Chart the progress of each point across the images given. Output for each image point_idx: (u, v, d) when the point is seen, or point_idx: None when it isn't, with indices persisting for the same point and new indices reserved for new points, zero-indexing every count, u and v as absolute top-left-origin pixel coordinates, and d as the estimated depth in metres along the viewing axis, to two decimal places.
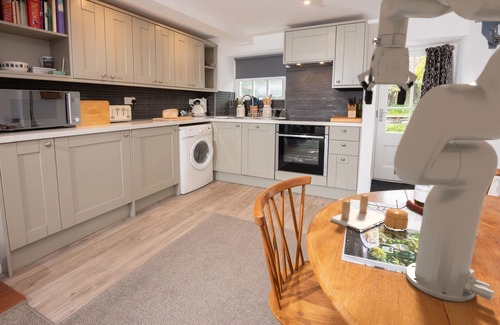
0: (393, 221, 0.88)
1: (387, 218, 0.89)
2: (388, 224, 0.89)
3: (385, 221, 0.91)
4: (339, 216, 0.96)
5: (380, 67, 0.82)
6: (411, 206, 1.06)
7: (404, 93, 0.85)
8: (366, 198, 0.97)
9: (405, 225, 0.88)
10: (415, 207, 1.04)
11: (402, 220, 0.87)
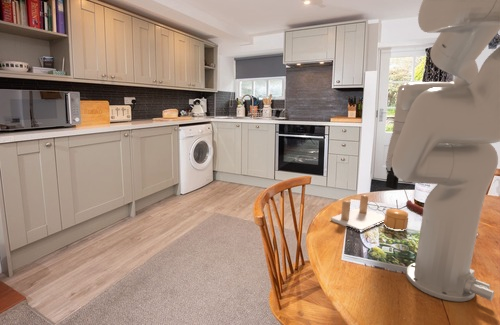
0: (393, 221, 0.88)
1: (387, 218, 0.89)
2: (388, 224, 0.89)
3: (385, 221, 0.91)
4: (339, 216, 0.96)
5: None
6: (411, 206, 1.05)
7: None
8: (366, 198, 0.97)
9: (405, 225, 0.88)
10: (415, 207, 1.04)
11: (402, 220, 0.87)
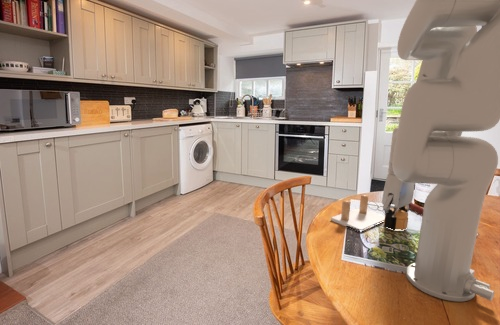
0: None
1: None
2: None
3: None
4: (339, 216, 0.96)
5: None
6: (411, 207, 1.05)
7: None
8: (366, 198, 0.97)
9: (405, 225, 0.88)
10: (415, 208, 1.03)
11: (402, 220, 0.87)
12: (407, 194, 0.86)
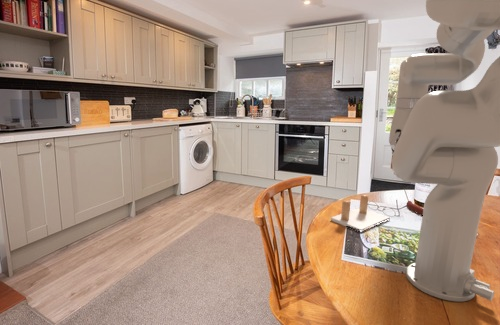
0: None
1: None
2: None
3: None
4: (339, 216, 0.96)
5: None
6: (412, 207, 1.05)
7: None
8: (366, 198, 0.97)
9: None
10: (416, 208, 1.03)
11: None
12: None
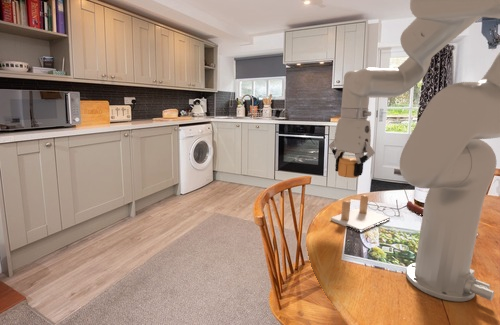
0: None
1: None
2: None
3: None
4: (339, 216, 0.96)
5: None
6: (412, 207, 1.04)
7: None
8: (366, 198, 0.97)
9: (342, 170, 0.89)
10: (416, 208, 1.03)
11: (339, 163, 0.90)
12: (346, 139, 0.87)
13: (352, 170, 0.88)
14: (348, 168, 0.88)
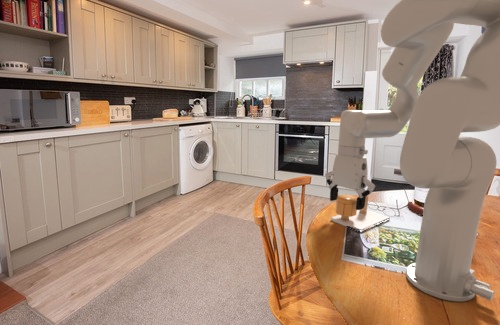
0: None
1: None
2: None
3: None
4: (339, 216, 0.96)
5: None
6: (412, 208, 1.04)
7: None
8: (366, 198, 0.97)
9: (340, 209, 0.91)
10: (416, 209, 1.02)
11: (337, 202, 0.92)
12: (343, 175, 0.89)
13: (349, 209, 0.90)
14: (345, 207, 0.90)
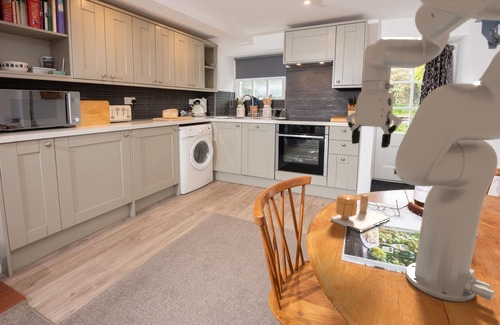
0: None
1: None
2: None
3: None
4: (339, 216, 0.96)
5: None
6: (413, 208, 1.04)
7: None
8: (366, 198, 0.97)
9: (340, 209, 0.91)
10: (417, 209, 1.02)
11: (337, 202, 0.92)
12: (368, 112, 0.87)
13: (349, 209, 0.90)
14: (346, 207, 0.90)
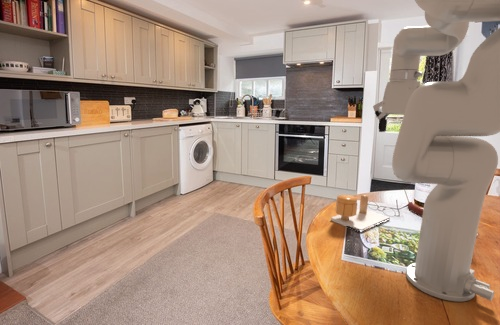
0: None
1: None
2: None
3: None
4: (339, 216, 0.96)
5: None
6: (413, 208, 1.03)
7: None
8: (366, 198, 0.97)
9: (340, 209, 0.91)
10: (417, 209, 1.02)
11: (337, 202, 0.92)
12: (396, 101, 0.89)
13: (350, 209, 0.90)
14: (346, 207, 0.90)
